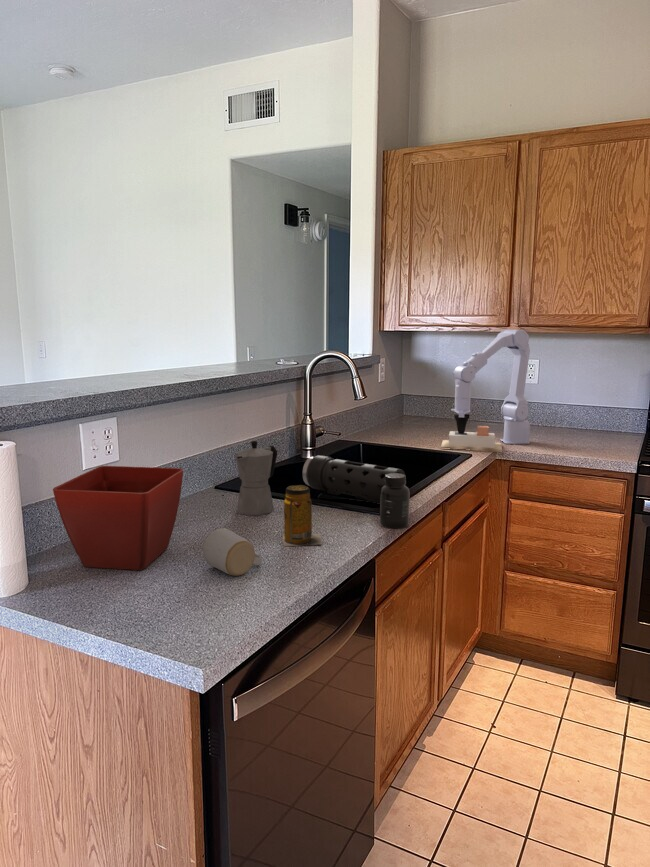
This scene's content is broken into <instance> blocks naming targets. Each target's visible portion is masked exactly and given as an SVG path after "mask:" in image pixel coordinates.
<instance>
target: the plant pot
mask: <svg viewBox="0 0 650 867" xmlns="http://www.w3.org/2000/svg"><path fill="white" fill-rule="evenodd" d="M183 476H184V469H183V468H179V467H178V468H176V467H175V468H174V467H173V468H172V467H155V466H154V467H152V466H151V467H149V466H147V467H146V466H123V465H122V466H120V465H119V466H118V465H101V466H98V467H96V468H93V469H91V470H89V471H86V472H85V473H82V474H80V475H78V476H76V477H74V478H71V479H70V480H67V481H66V482H63V483H61V484H59V485H57V486H54V487H53V488H52V491H53V492H52V493H53V496H54V500H55V503H56V507H57V509H58V513H59V515H60V519H61V523H62V524H63V527H64V529H65V532H66V534H67V536H68V539H69V540H70V543H71V544H72V548H73V549H74V551H75V553H76V554H77V557H78V558H79V560H80V561H81V564H82V565H83V566H84V567H85V568H101V569H117V570H118V569H119V570H132V571H134V570H135V571H140V570H144V569H145V568H147V567H148V566H150V564H151V563H152V562H153V561H154V560H156V559H157V558H158V557H159V556H160V555H161V554H162V553H164V551H166V550H167V549H168V547H169V544H170V542H171V538H172V534H173V531H174V527H175V523H176V519H177V514H178V510H179V505H180V500H181V499H180V498H181V494H182V493H181V491H182V485H183Z"/></svg>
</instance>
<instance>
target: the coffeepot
mask: <svg viewBox="0 0 650 867" xmlns="http://www.w3.org/2000/svg"><path fill="white" fill-rule="evenodd" d="M250 445H251V448H246V449H241V450H238V451H237V452H236V453H235V461H236V465H237V470H238V477H239V479H240V480H241V486H240V488H239V494H238V501H237V506H236V507H237V508H236V511H237V512H238V513H239V514H240V515H245V516H251V517H252V516H256V517H257V516H263V515H264V516H265V515H267V514H270V513H272V512H273V510H274V503H273V497H272V493H271V487H270V485H269V479H270V478H271V477H273V476H274V471H275V468H276V463H277V457H278V450H277V448H276V446H274V445H268V446H264V447H262V448H261V447H259V448H258V441H256V440H252V441H250Z"/></svg>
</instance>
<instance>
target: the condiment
mask: <svg viewBox="0 0 650 867" xmlns="http://www.w3.org/2000/svg"><path fill="white" fill-rule="evenodd" d="M309 487H310V486H309ZM309 487H308V485H307V486H306V485H303V484H295V485H289V486H287V487H286V488H285V498H284V501H283V506H284V507H283V513H284V514H283V515H284V517H283V525H284V526H283V527H284V528H283V530H284V533H283V534H282V546H285V547H293V546H294V547H298V546H316V545H323V542H322V536H321V533H313V532H312V531H313V528H312V527H313V525H312V524H313V520H312V519H313V518H312V517H313V515H312V514H313V513H312V512H313V511H312V508H313V506H312V504H313V503H312V502H313V501H312V499H311V493H310V492H311V490H310V488H309Z"/></svg>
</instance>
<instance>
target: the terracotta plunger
mask: <svg viewBox="0 0 650 867" xmlns="http://www.w3.org/2000/svg"><path fill="white" fill-rule="evenodd" d="M489 429H490V427H489V426H488V425H477V430H476V432H477V436H488V433H490V432H489V431H490V430H489Z"/></svg>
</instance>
